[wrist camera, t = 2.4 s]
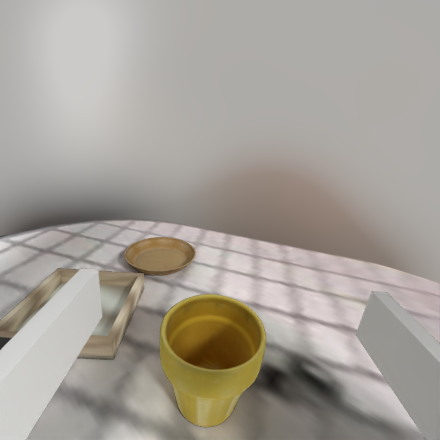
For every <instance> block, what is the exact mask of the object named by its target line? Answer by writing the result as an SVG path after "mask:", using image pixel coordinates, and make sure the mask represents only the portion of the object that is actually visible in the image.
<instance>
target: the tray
mask: <svg viewBox="0 0 440 440" xmlns="http://www.w3.org/2000/svg"><path fill="white" fill-rule="evenodd" d="M79 270H80V269H64V268H58V269H57V270H56V271H55V272H53V273H52V274H51V275H50V276H49V277H48V278H47V279H46V280H45V281H43V282H42V283H41V284H40V285H39V286H38V287H37V288H36V289H35V290H33V291H32V292H31V293H30V294H29V295H28V296H27V297H26V298H25V299H24V300H22V301H21V302H20V303H19V304H18V305H17V306H16V307H15V308H14V309H12V310H11V311H10V312H9V313H8V314H7V315H6V316H5V317H4V318H2V319H1V320H0V337H7V338H13V337H14V336H15V335H16V334H17V333H18V332H19V331H20V330H21V329H22V328H23V327H24V326H25V325H26V324H27V323H28V322H29V321H30V320H31V319H32V317H33V316H34V315H35V314H36V313H37V312H38V311H39V310H40V309H41V308H42V307H43V306H44V305H45V304H46V303H47V302H48V301H49V300H50V299H51V298H52V297H53V296H54V295H55V294H56V293H57V292H58V291H59V290H60V289H61V288H62V287H63V286H64V285H65V284H66V283H67V282H68V281H69V280H70V279H71V278H72V277H73V276H74V275H75V274H76V273H77V272H78V271H79ZM98 273H99V284H100V295H101V307H102V318H101V320H100V321H99V323H98V324H97V326H96V328H95V329H94V331H93V332H92V334H91V336H90V337H89V339H88V340H87V342H86V344H85V345H84V347H83V348H82V350H81V352H80V353H79V355H78V357H77V358H86V359H109V360H113V359H114V357H115V355H116V352H117V350H118V348H119V345H120V343H121V341H122V338H123V336H124V334H125V331H126V329H127V327H128V324H129V322H130V320H131V318H132V315H133V313H134V311H135V308H136V306H137V304H138V301H139V299H140V297H141V294H142V292H143V290H144V273H128V272H112V271H98Z"/></svg>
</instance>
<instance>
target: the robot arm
mask: <svg viewBox="0 0 440 440" xmlns="http://www.w3.org/2000/svg"><path fill="white" fill-rule="evenodd" d="M101 318H102V307H101V295H100V284H99V273H98V269H87V268H81V269H80V270H79V271H78V272H77V273H76V274H75V275H74V276H73V277H72V278H71V279H70V280H69V281H68V282H67V283H66V284H65V285H64V286H63V287H62V288H61V289H60V290H59V291H58V292H57V293H56V294H55V295H54V296H53V297H52V298H51V299H50V300H49V301H48V302H47V303H46V304H45V305H44V306H43V307H42V308H41V309H40V310H39V311H38V312H37V313H36V314H35V315H34V316H33V317H32V319H31V320H30V321H29V322H28V323H27V324H26V325H25V326H24V327H23V328H22V329H21V330H20V331H19V332H18V333H17V334H16V335H15V336H14V337H13V338H7V337H0V440H26V439H27V437H28V435H29V434H30V432H31V431H32V429H33V427H34V426H35V424H36V423H37V421H38V419H39V418H40V416H41V414H42V413H43V411H44V410H45V408H46V406H47V405H48V403H49V402H50V400H51V398H52V397H53V395H54V394H55V392H56V390H57V389H58V387H59V386H60V384H61V382H62V381H63V379H64V377H65V376H66V374H67V373H68V371H69V369H70V368H71V366H72V365H73V363H74V361H75V360H76V358H77V357H78V355H79V353H80V352H81V350H82V348H83V347H84V345H85V344H86V342H87V340H88V339H89V337H90V336H91V334H92V332H93V331H94V329H95V328H96V326H97V324H98V323H99V321H100V320H101ZM356 336H357V338H358V339H359V341H360V342H361V344H362V345H363V347H364V348H365V350H366V351H367V353H368V354H369V356H370V357H371V359H372V360H373V362H374V363H375V365H376V366H377V368H378V369H379V371H380V372H381V374H382V375H383V377H384V378H385V380H386V381H387V383H388V384H389V386H390V387H391V389H392V390H393V391H394V393H395V394H396V396H397V397H398V399H399V400H400V402H401V403H402V405H403V406H404V408H405V409H406V411H407V412H408V414H409V415H410V417H411V418H412V420H413V421H414V423H415V424H416V426H417V427H418V429H419V430H420V432H421V433H422V435H423V436H424V438H425V439H426V440H440V343H439V342H438V341H437V340H436V339H435V338H434V337H433V336H432V335H431V334H430V333H429V332H428V331H427V330H426V329H425V328H424V327H423V326H422V325H421V324H420V323H419V322H417V321H416V320H415V319H414V318H413V317H412V316H411V315H410V314H409V313H408V312H407V311H406V310H405V309H404V308H403V307H402V306H401V305H400V304H399V303H398V302H397V301H396V300H395V299H394V298H393V297H392V296H391V295H390V294H388V293H387V292H378V291H372V292H371V295H370V297H369V300H368V303H367V305H366V308H365V311H364V313H363V316H362V319H361V321H360V324H359V327H358V330H357V332H356Z"/></svg>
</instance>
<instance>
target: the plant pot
mask: <svg viewBox="0 0 440 440" xmlns="http://www.w3.org/2000/svg"><path fill="white" fill-rule="evenodd" d="M265 346H266V334H265V329H264V326H263V324H262V322H261V320H260V319H259V317H258V316H257V315H256V313H255V312H254V311H253V310H252V309H250V308H249V307H248V306H246V305H245V304H243V303H242V302H240V301H238V300H235V299H233V298H230V297H226V296H221V295H213V294H205V295H197V296H193V297H189V298H187V299H184V300H182V301H180V302H179V303H177V304H176V305H174V306H173V307H172V308H171V309H170V310H169V311H168V312H167V314H166V315H165V317H164V319H163V321H162V324H161V328H160V359H161V365H162V368H163V370H164V373H165V375H166V376H167V378H168V379H169V381H170V382H171V383H172V385H173V389H174V393H175V397H176V401H177V404H178V407H179V409H180V411H181V413H182V414H183V416H184V417H185V418H186V419H187V420H188V421H190V422H191V423H193V424H195V425H197V426H201V427H212V426H216V425H219V424H221V423H222V422H224V421H225V420H226V419H227V418H228V417H229V416H230V415H231V413H232V411H233V410H234V408H235V406H236V404H237V402H238V400H239V398H240V396H241V394H242V392H243V391H245V390H246V389H247V388H248V387H249V386H250V385H251V384H252V383H253V382H254V381H255V379H256V378H257V376H258V373H259V371H260V367H261V364H262V360H263V356H264V351H265Z"/></svg>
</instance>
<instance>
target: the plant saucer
mask: <svg viewBox="0 0 440 440" xmlns="http://www.w3.org/2000/svg"><path fill="white" fill-rule="evenodd" d="M195 255H196V252H195V249H194V248H193V246H192V245H190V244H189V243H187V242H185V241H183V240H180V239H175V238H169V237H155V238H148V239H144V240H141V241H138V242H135V243H134V244H132V245H130V246H129V247H128V248H127V249H126V251H125V253H124V257H125V260H126V261H127V262H128V263H129V264H130V265H131V266H132V267H133V268H135V269H136V270H138V271H140V272H142V273H145V274H149V275H157V276H161V275H169V274H173V273H176V272H178V271H180V270H182V269H183V268H185V267H186V266H187V265H189V264H190V263H191V262H192V261H193V259H194V258H195Z"/></svg>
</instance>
